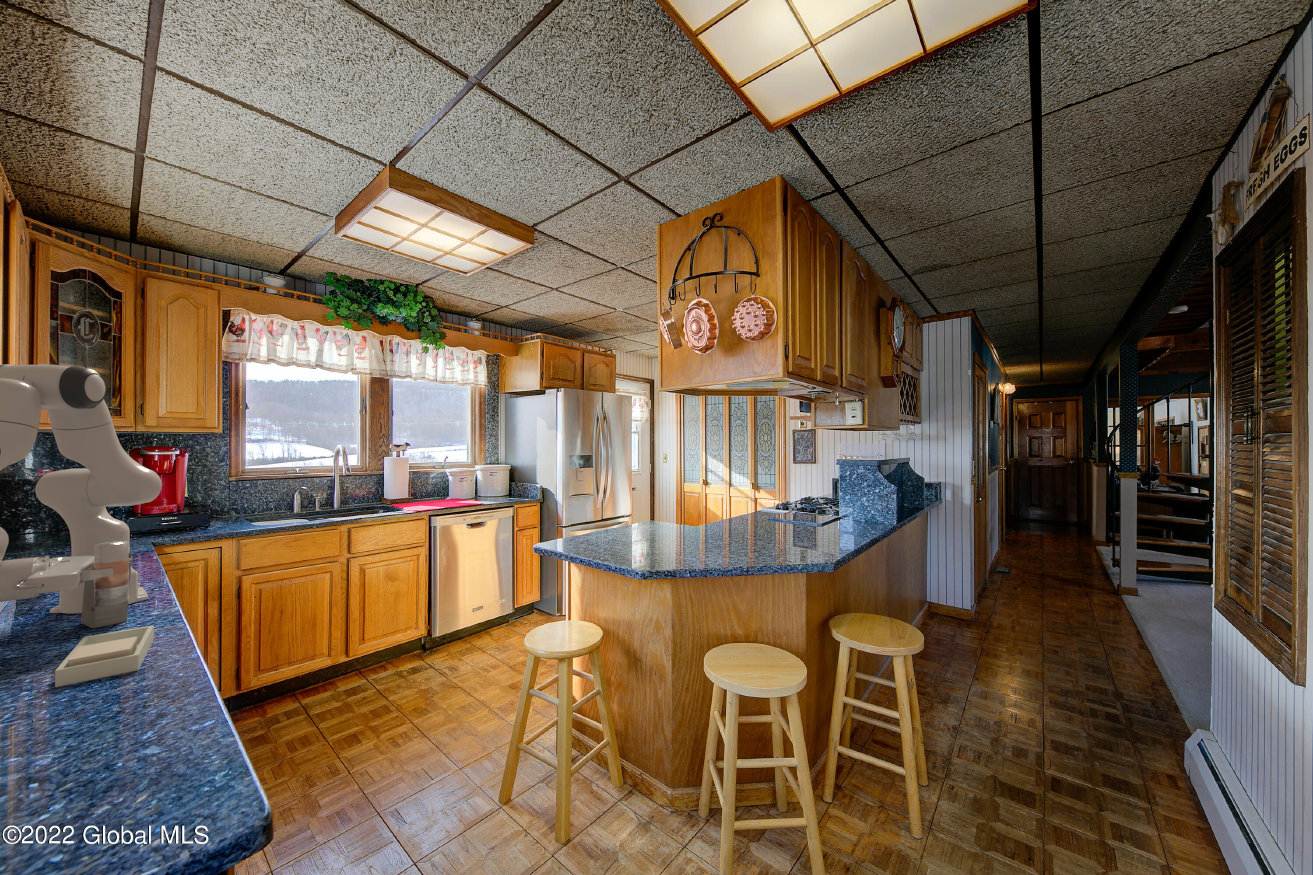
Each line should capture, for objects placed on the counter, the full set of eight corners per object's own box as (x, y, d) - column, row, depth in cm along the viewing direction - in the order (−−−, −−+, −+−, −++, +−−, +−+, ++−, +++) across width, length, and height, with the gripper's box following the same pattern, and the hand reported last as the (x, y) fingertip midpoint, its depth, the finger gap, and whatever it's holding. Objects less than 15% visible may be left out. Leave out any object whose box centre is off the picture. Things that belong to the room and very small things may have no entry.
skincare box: (80, 624, 128) (80, 561, 128) (119, 615, 134) (119, 556, 134) (92, 629, 124) (92, 565, 124) (132, 620, 130) (132, 559, 130)
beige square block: (79, 666, 101) (79, 646, 101) (137, 655, 106) (137, 636, 106) (68, 681, 95) (68, 660, 95) (130, 669, 100) (130, 648, 100)
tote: (83, 655, 109) (83, 636, 109) (153, 642, 116) (153, 625, 116) (55, 692, 93) (55, 670, 93) (138, 674, 100) (138, 654, 100)
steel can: (97, 601, 120) (97, 542, 119) (131, 596, 123) (130, 539, 123) (91, 607, 115) (91, 547, 115) (126, 602, 119) (126, 544, 119)
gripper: (8, 574, 103) (107, 563, 112) (40, 555, 119) (125, 546, 127) (8, 605, 103) (107, 592, 112) (40, 581, 119) (125, 571, 128)
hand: (117, 567), depth 120 cm, fingers closed on steel can, 6 cm apart
